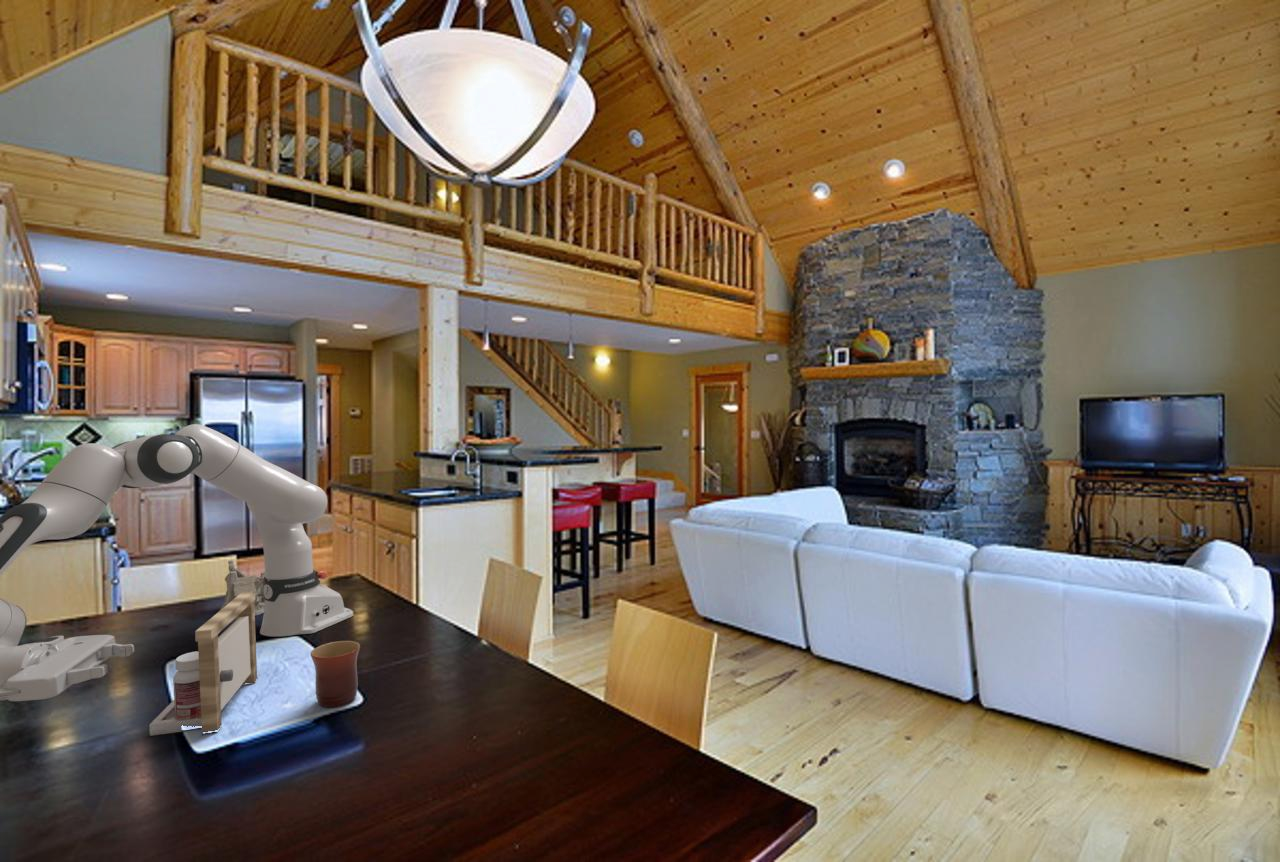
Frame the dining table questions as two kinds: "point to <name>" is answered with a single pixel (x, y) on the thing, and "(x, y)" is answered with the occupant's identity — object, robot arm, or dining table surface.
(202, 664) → the door frame
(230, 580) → the ceramic cottage
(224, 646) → the door
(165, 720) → the keeper
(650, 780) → the dining table surface
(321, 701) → the mug
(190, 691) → the pill bottle
